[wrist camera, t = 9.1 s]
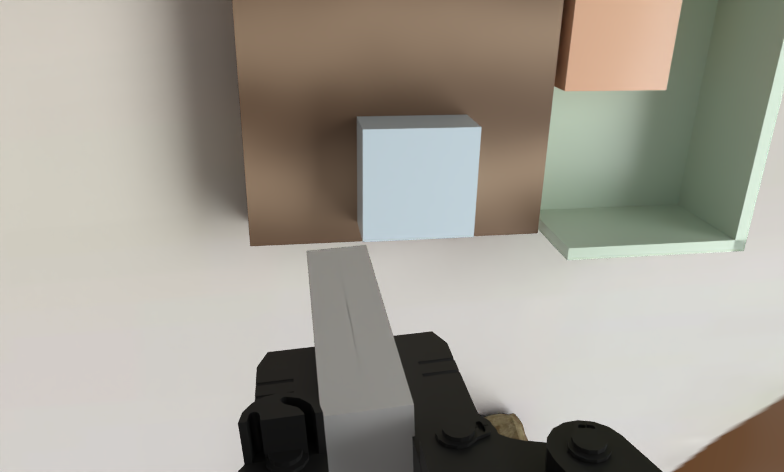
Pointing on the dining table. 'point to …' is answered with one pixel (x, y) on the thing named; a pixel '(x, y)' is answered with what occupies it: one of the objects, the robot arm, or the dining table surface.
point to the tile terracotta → (616, 44)
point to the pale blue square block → (417, 176)
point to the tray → (670, 143)
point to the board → (388, 102)
